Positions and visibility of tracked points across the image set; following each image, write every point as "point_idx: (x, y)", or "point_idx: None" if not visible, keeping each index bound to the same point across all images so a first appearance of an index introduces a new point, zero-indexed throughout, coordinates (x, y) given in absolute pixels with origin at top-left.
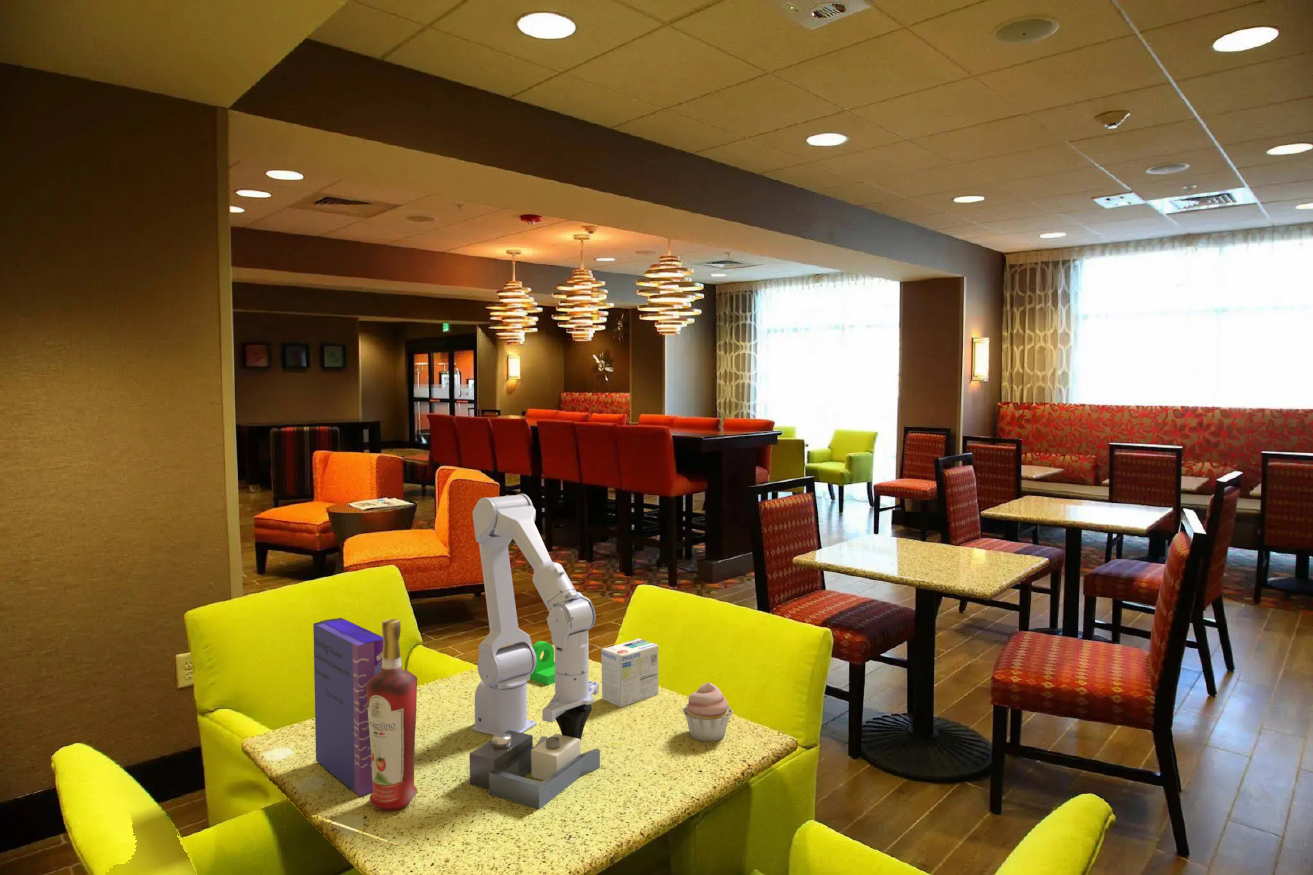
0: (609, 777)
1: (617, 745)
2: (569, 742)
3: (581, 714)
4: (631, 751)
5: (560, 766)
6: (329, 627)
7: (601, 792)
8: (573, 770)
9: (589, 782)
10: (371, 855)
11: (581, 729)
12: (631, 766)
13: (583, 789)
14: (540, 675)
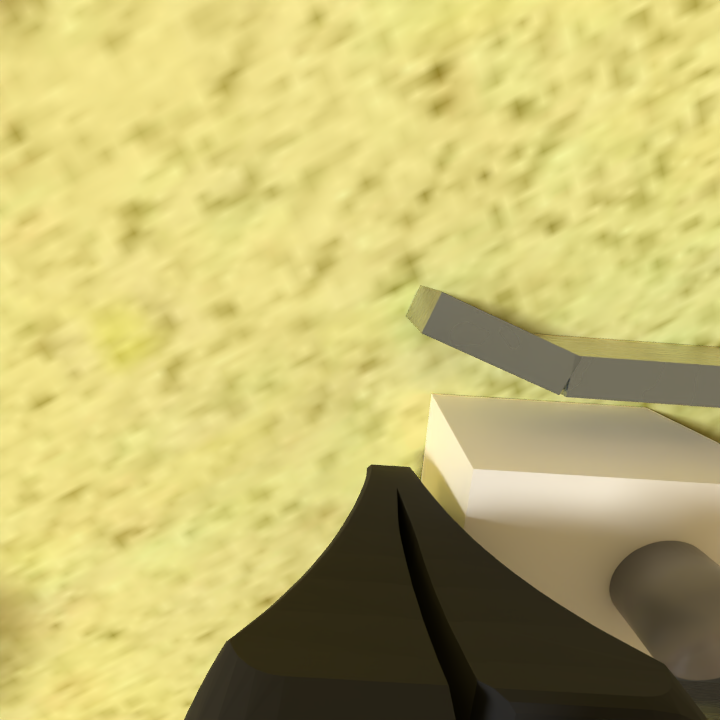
0: (504, 179)
1: (132, 322)
2: (554, 515)
3: (619, 713)
4: (154, 206)
5: (675, 438)
6: None
7: (685, 137)
8: (665, 353)
9: (590, 261)
10: None
11: (383, 531)
12: (329, 111)
13: (672, 254)
14: None
